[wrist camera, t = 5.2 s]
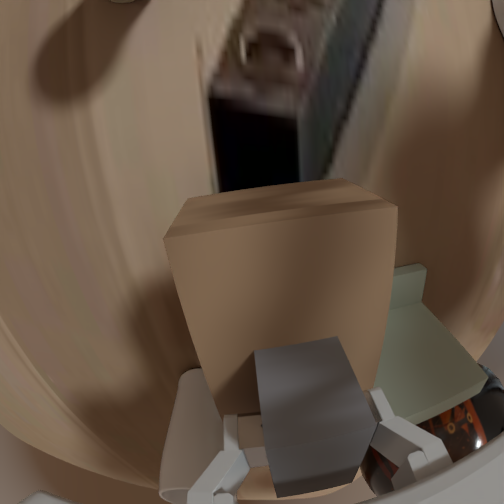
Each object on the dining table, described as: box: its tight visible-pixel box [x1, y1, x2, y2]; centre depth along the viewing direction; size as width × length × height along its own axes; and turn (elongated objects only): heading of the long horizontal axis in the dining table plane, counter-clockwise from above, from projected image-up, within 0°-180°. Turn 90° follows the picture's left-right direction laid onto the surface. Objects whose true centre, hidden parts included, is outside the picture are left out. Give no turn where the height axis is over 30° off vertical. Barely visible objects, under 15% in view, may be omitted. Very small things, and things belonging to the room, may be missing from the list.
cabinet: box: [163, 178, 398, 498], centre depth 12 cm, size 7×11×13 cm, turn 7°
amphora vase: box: [360, 363, 504, 497], centre depth 22 cm, size 22×22×28 cm
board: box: [373, 263, 488, 425], centre depth 22 cm, size 16×6×14 cm, turn 97°
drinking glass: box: [159, 368, 237, 504], centre depth 24 cm, size 7×7×15 cm
